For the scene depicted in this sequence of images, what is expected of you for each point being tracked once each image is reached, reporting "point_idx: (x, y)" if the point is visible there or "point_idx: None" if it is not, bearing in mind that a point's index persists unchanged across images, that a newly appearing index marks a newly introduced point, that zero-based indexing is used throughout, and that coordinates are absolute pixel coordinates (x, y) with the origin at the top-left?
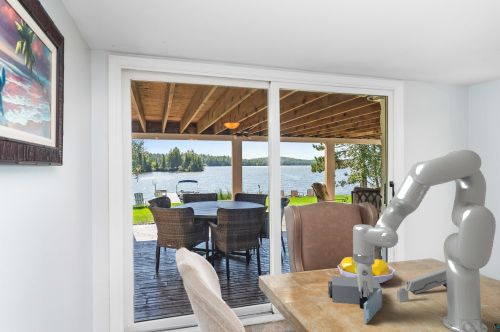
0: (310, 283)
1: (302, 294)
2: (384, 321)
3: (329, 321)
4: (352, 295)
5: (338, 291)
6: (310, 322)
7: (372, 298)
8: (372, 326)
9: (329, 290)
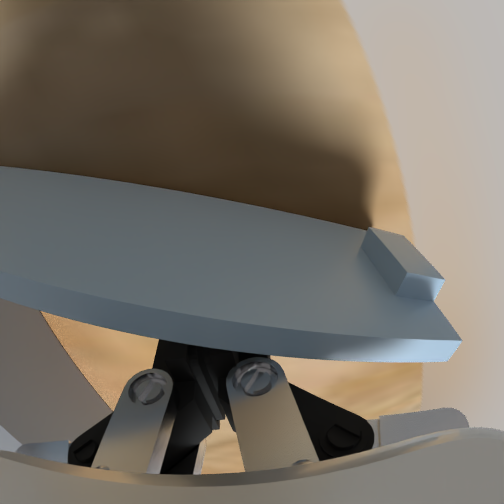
0: None
1: None
2: (257, 90)
3: (365, 394)
4: (39, 385)
5: None
6: None
7: (190, 309)
8: (389, 187)
9: None
